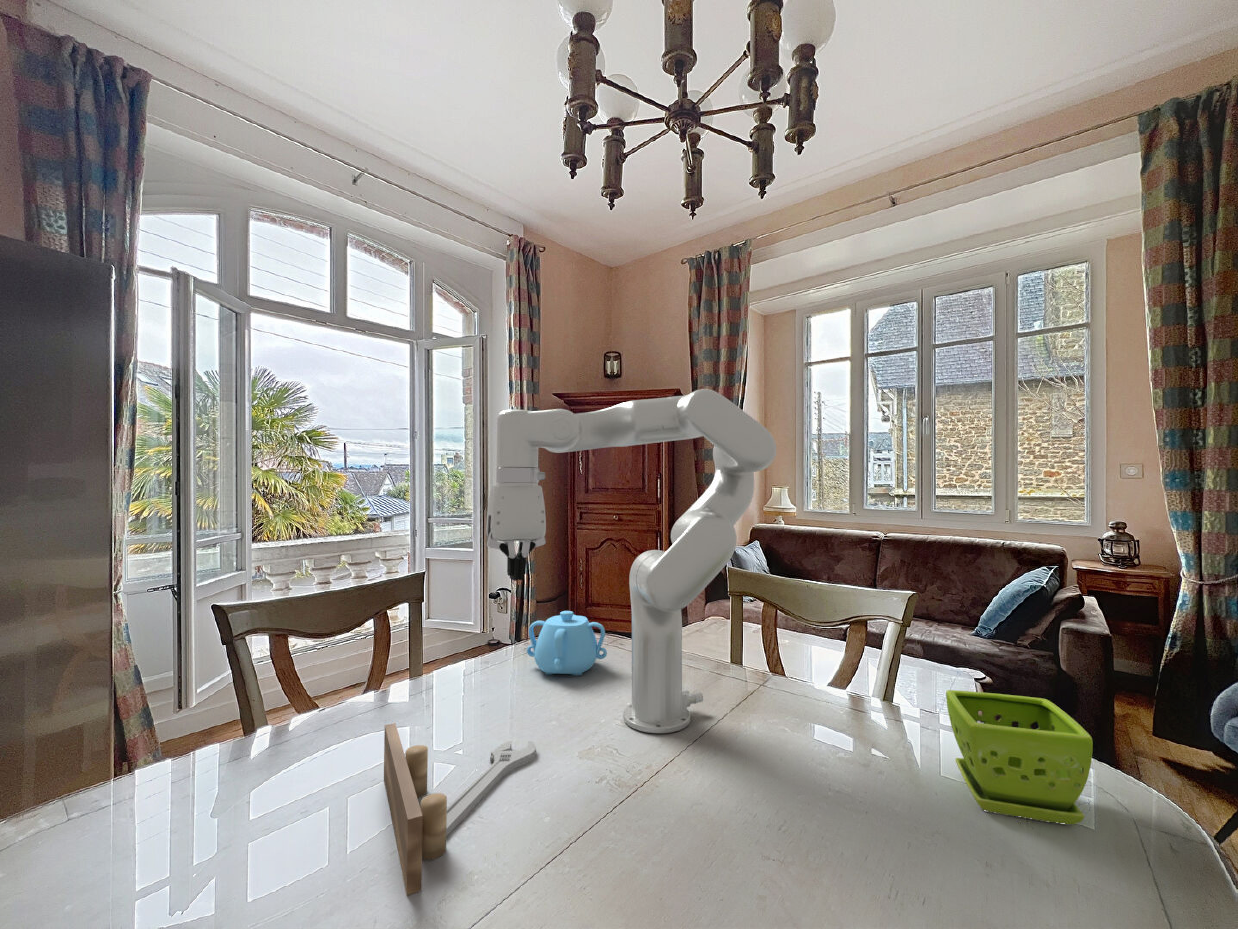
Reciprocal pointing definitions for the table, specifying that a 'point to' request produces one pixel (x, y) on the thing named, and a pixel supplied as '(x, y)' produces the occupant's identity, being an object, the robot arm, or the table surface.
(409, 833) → the tool rack
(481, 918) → the table surface
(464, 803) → the adjustable wrench
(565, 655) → the decorative pot
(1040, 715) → the flower pot
